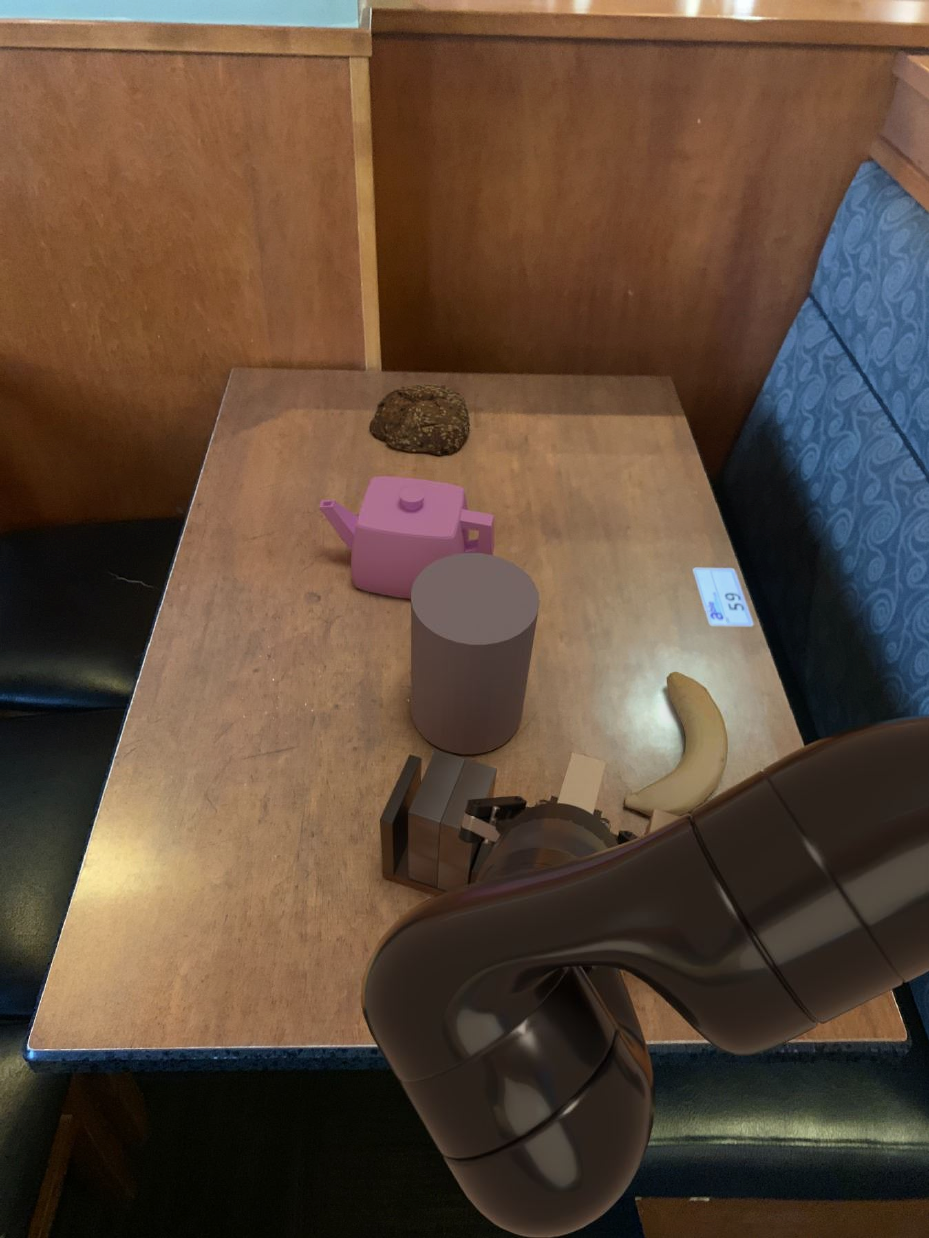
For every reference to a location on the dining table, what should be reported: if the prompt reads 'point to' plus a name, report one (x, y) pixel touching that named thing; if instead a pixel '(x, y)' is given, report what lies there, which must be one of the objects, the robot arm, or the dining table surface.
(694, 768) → the fruit
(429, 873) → the book rack
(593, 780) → the cream book
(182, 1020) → the dining table surface
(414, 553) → the teapot
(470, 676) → the grey upright cylinder
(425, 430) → the bread roll
